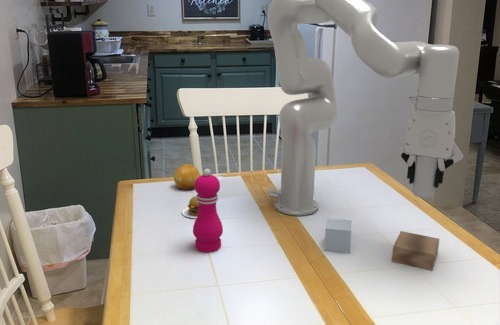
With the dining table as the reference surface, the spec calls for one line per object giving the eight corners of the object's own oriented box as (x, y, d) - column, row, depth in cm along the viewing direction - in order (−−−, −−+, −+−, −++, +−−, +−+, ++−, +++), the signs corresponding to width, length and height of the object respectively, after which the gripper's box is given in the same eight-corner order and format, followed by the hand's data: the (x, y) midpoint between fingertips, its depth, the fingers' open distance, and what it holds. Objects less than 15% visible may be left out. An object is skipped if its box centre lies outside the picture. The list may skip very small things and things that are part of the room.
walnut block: (391, 261, 119) (393, 245, 117) (399, 245, 126) (400, 230, 125) (432, 270, 115) (434, 254, 113) (437, 253, 122) (439, 238, 121)
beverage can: (435, 199, 113) (442, 147, 109) (412, 198, 114) (418, 146, 110) (432, 192, 117) (439, 141, 114) (410, 190, 118) (416, 140, 115)
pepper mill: (227, 242, 127) (227, 166, 121) (216, 255, 120) (215, 175, 114) (200, 237, 129) (199, 162, 123) (188, 250, 123) (186, 171, 116)
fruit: (193, 173, 169) (184, 156, 164) (209, 181, 164) (199, 164, 159) (176, 190, 166) (165, 173, 161) (190, 199, 161) (180, 182, 156)
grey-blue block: (324, 251, 123) (325, 228, 122) (325, 240, 129) (327, 218, 127) (349, 253, 122) (351, 230, 120) (350, 242, 128) (351, 220, 126)
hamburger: (167, 214, 144) (167, 196, 143) (200, 203, 152) (200, 186, 151) (194, 227, 136) (193, 208, 135) (227, 215, 144) (227, 197, 143)
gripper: (390, 103, 110) (382, 182, 115) (475, 111, 102) (463, 195, 108) (397, 97, 116) (389, 173, 122) (478, 104, 109) (466, 185, 114)
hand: (424, 183), depth 115 cm, fingers closed on beverage can, 4 cm apart
